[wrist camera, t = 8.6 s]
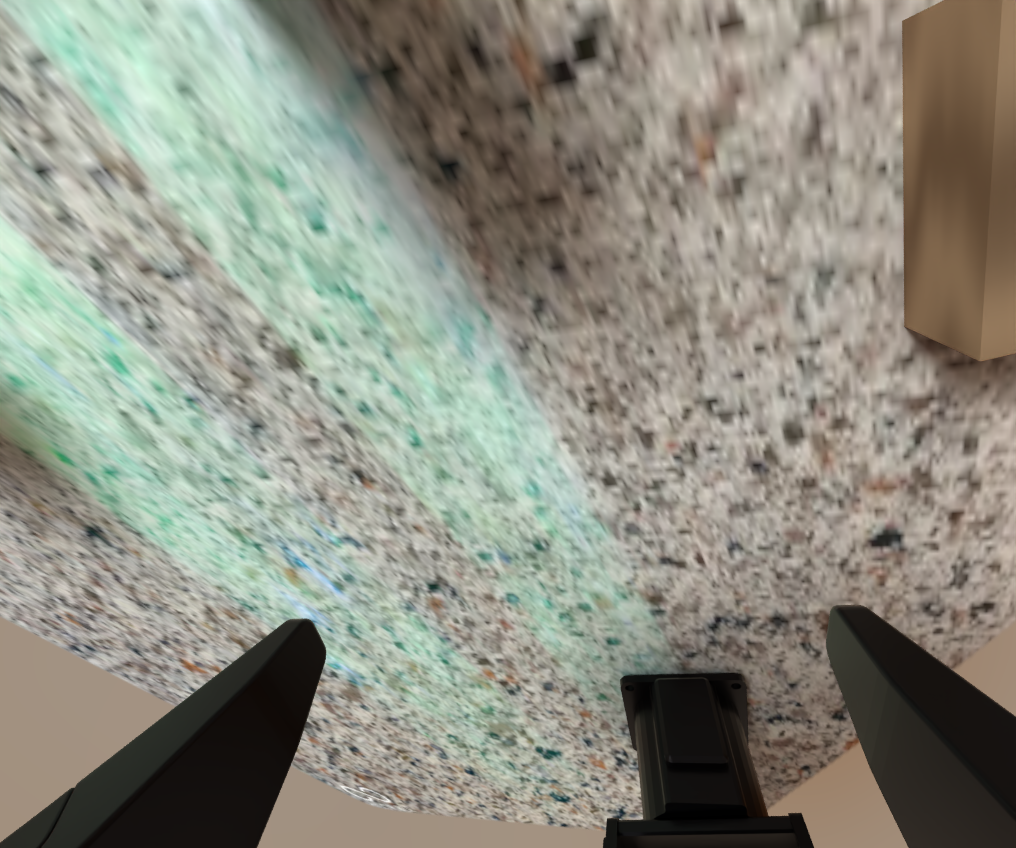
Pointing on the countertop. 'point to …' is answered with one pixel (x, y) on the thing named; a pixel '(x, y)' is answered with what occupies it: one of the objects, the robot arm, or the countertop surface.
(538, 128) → the countertop surface
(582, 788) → the countertop surface
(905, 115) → the walnut block
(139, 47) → the countertop surface
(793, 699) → the countertop surface
